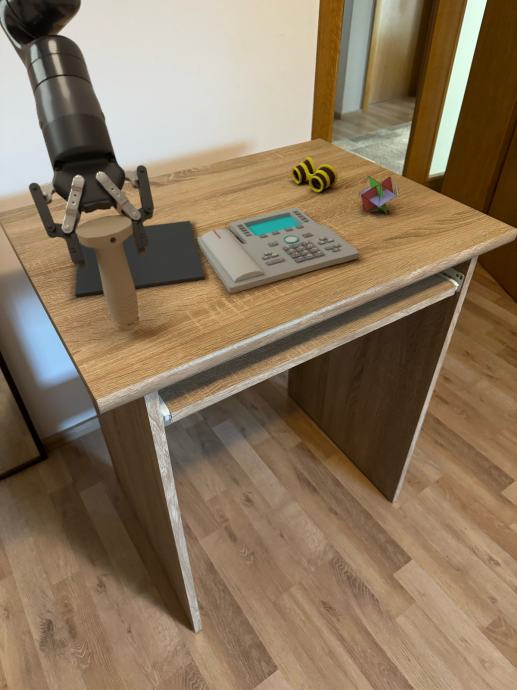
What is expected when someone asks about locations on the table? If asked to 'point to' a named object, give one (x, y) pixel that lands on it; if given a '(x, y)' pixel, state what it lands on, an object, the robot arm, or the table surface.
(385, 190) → the geometric puzzle
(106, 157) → the robot arm
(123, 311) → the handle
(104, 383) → the table surface
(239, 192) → the table surface
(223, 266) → the office telephone
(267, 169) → the table surface
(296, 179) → the opera glasses
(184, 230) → the mat
